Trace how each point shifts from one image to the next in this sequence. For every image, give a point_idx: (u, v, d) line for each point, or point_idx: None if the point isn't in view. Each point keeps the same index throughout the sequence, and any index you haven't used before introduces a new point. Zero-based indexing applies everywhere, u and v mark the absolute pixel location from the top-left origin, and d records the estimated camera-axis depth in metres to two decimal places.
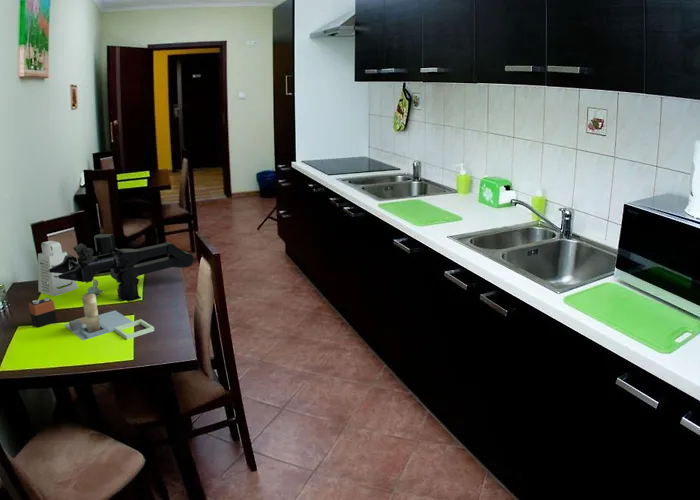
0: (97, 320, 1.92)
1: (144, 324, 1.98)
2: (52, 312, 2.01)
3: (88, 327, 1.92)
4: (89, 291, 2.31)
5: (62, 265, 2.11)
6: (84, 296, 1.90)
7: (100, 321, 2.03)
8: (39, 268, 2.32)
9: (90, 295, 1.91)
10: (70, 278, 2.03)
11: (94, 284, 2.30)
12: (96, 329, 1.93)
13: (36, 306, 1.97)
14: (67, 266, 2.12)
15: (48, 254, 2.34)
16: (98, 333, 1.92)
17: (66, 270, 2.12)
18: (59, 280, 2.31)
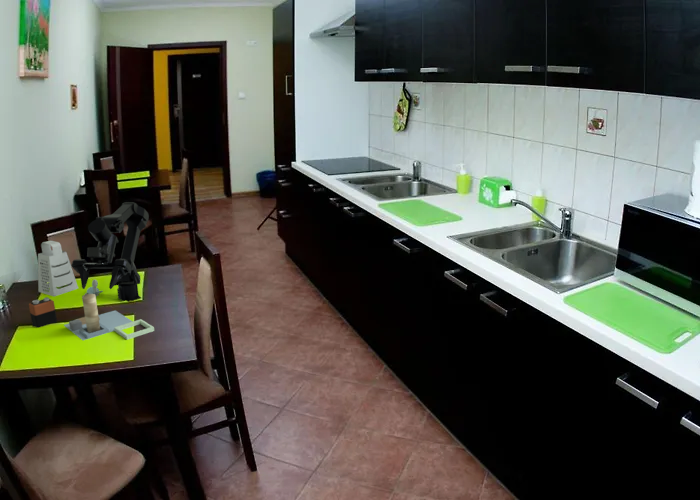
0: (97, 320, 1.92)
1: (144, 324, 1.98)
2: (52, 312, 2.01)
3: (88, 327, 1.92)
4: (88, 291, 2.30)
5: (84, 275, 1.99)
6: (84, 296, 1.90)
7: (100, 321, 2.03)
8: (39, 268, 2.32)
9: (90, 295, 1.91)
10: (116, 280, 2.00)
11: (93, 284, 2.29)
12: (96, 329, 1.93)
13: (36, 306, 1.97)
14: (85, 272, 2.01)
15: (48, 254, 2.34)
16: (98, 333, 1.92)
17: (87, 275, 2.02)
18: (59, 280, 2.31)
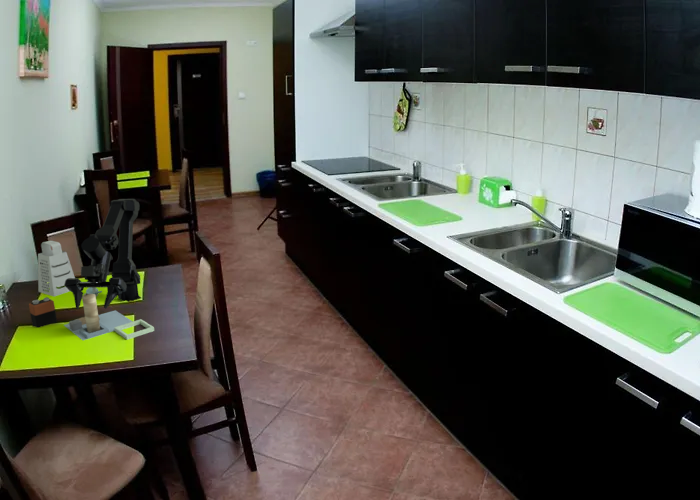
0: (97, 320, 1.92)
1: (144, 324, 1.98)
2: (52, 312, 2.01)
3: (88, 327, 1.92)
4: (88, 291, 2.30)
5: (78, 294, 1.94)
6: (84, 296, 1.90)
7: (100, 321, 2.03)
8: (39, 268, 2.32)
9: (90, 295, 1.91)
10: (111, 300, 1.95)
11: None
12: (96, 329, 1.93)
13: (36, 306, 1.97)
14: (79, 291, 1.95)
15: (48, 254, 2.34)
16: (98, 333, 1.92)
17: (81, 294, 1.96)
18: (59, 280, 2.31)
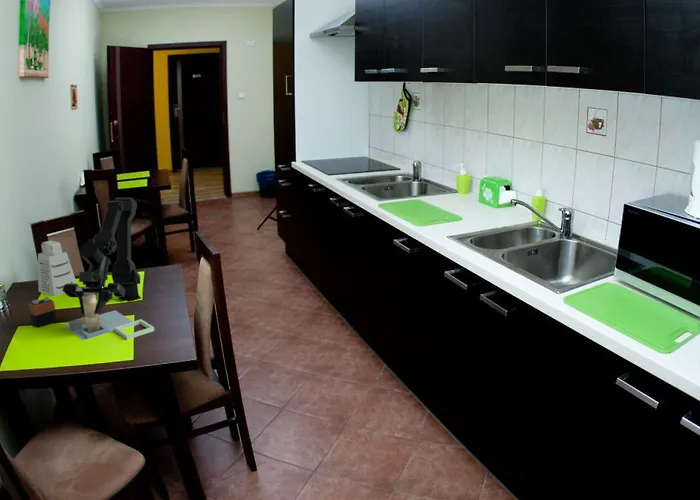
0: (97, 320, 1.92)
1: (144, 324, 1.98)
2: (52, 312, 2.01)
3: (88, 327, 1.92)
4: None
5: None
6: (84, 296, 1.90)
7: (100, 321, 2.03)
8: (39, 268, 2.32)
9: (90, 295, 1.91)
10: (102, 305, 1.93)
11: None
12: (96, 329, 1.93)
13: (36, 306, 1.97)
14: None
15: (48, 254, 2.34)
16: (98, 333, 1.92)
17: None
18: (59, 280, 2.31)
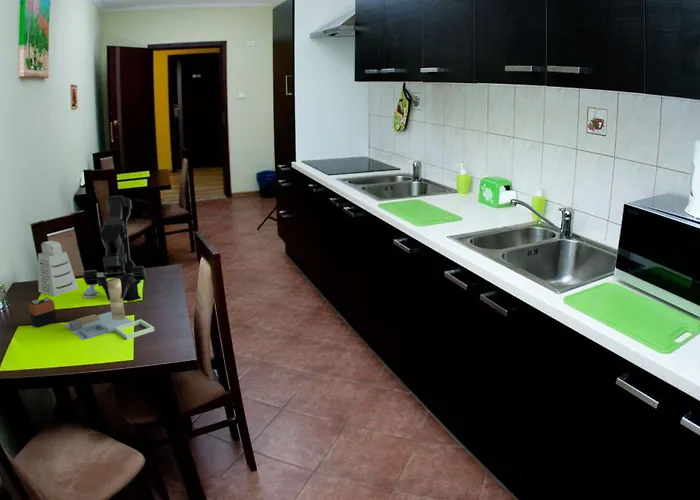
0: (123, 304, 1.91)
1: (144, 324, 1.98)
2: (52, 312, 2.01)
3: (114, 312, 1.90)
4: (86, 292, 2.30)
5: (107, 285, 1.90)
6: (109, 281, 1.88)
7: (100, 321, 2.03)
8: (39, 268, 2.32)
9: (115, 280, 1.89)
10: (126, 289, 1.93)
11: (91, 285, 2.29)
12: (122, 314, 1.91)
13: (36, 306, 1.97)
14: (106, 282, 1.91)
15: (48, 254, 2.34)
16: (98, 333, 1.92)
17: (107, 285, 1.92)
18: (59, 280, 2.31)
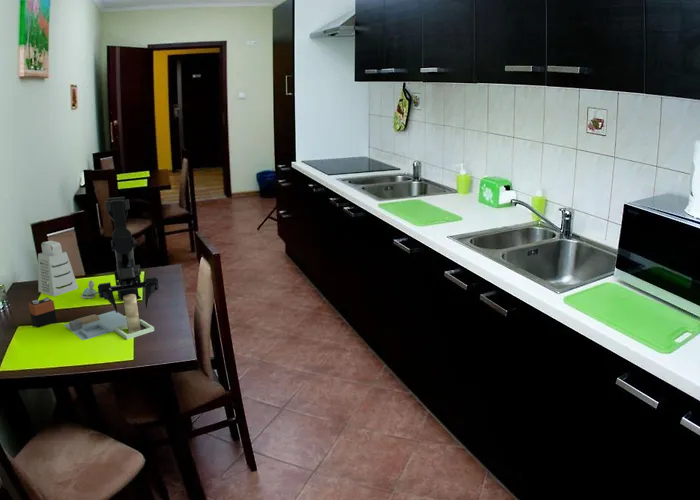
0: None
1: (144, 324, 1.98)
2: (52, 312, 2.01)
3: (131, 327, 1.93)
4: (85, 292, 2.29)
5: None
6: (125, 297, 1.90)
7: (100, 321, 2.03)
8: (39, 268, 2.32)
9: (130, 295, 1.92)
10: None
11: (90, 285, 2.28)
12: (139, 328, 1.94)
13: (36, 306, 1.97)
14: None
15: (48, 254, 2.34)
16: (98, 333, 1.92)
17: None
18: (59, 280, 2.31)
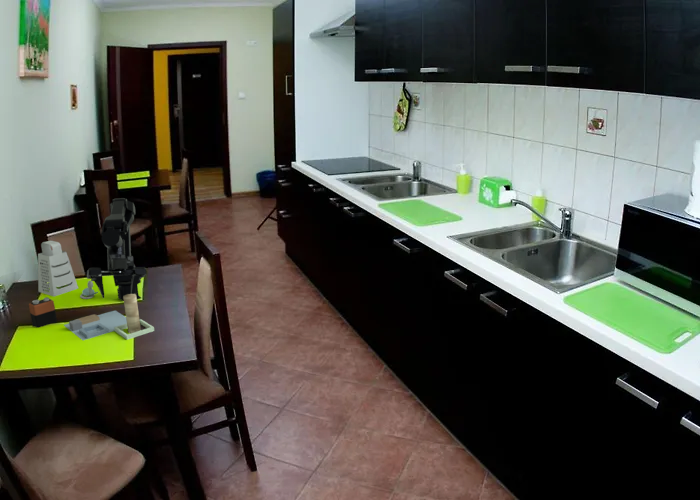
0: None
1: (144, 324, 1.98)
2: (52, 312, 2.01)
3: (131, 327, 1.93)
4: (84, 292, 2.29)
5: (102, 283, 1.99)
6: (125, 297, 1.91)
7: (100, 321, 2.03)
8: (39, 268, 2.32)
9: (131, 295, 1.92)
10: None
11: (89, 285, 2.28)
12: (139, 328, 1.94)
13: (36, 306, 1.97)
14: None
15: (48, 254, 2.34)
16: (98, 333, 1.92)
17: None
18: (59, 280, 2.31)
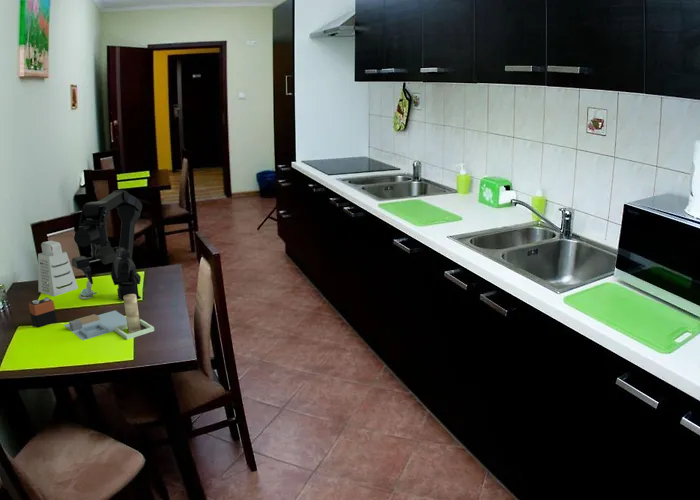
0: None
1: (144, 324, 1.98)
2: (52, 312, 2.01)
3: (131, 327, 1.93)
4: (83, 293, 2.29)
5: None
6: (125, 297, 1.91)
7: (100, 321, 2.03)
8: (39, 268, 2.32)
9: (131, 295, 1.92)
10: None
11: (88, 286, 2.28)
12: (139, 328, 1.94)
13: (36, 306, 1.97)
14: None
15: (48, 254, 2.34)
16: (98, 333, 1.92)
17: None
18: (59, 280, 2.31)
